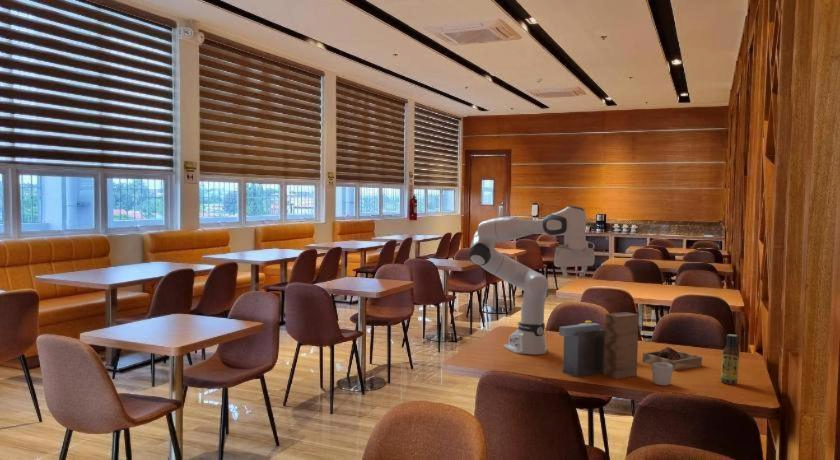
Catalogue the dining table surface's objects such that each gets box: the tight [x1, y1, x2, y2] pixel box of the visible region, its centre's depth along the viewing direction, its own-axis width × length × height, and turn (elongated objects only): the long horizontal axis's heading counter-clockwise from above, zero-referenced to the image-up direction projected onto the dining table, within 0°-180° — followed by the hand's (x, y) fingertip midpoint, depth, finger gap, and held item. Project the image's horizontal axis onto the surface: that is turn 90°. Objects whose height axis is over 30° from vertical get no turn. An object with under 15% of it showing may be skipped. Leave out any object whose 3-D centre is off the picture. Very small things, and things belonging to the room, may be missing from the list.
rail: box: [558, 322, 601, 338], centre depth 273 cm, size 4×20×4 cm, turn 120°
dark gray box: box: [562, 328, 605, 378], centre depth 275 cm, size 8×18×18 cm, turn 120°
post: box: [603, 311, 640, 380], centre depth 271 cm, size 7×12×26 cm, turn 120°
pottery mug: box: [657, 346, 681, 360], centre depth 294 cm, size 12×10×8 cm
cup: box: [651, 362, 673, 387], centre depth 261 cm, size 11×8×8 cm
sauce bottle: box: [720, 333, 740, 386], centre depth 263 cm, size 6×6×20 cm
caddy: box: [642, 349, 703, 372], centre depth 293 cm, size 17×19×4 cm
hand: (573, 277), depth 273 cm, fingers open, 8 cm apart
